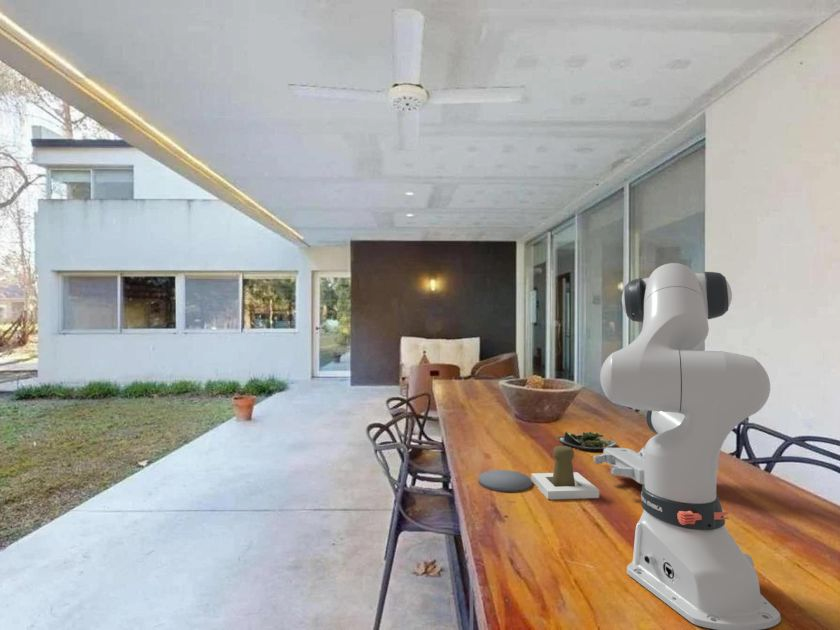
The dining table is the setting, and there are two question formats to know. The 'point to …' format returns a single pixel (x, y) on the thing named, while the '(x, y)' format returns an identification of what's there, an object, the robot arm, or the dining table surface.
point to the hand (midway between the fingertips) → (602, 465)
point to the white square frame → (564, 487)
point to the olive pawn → (563, 466)
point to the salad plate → (586, 441)
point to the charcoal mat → (504, 481)
